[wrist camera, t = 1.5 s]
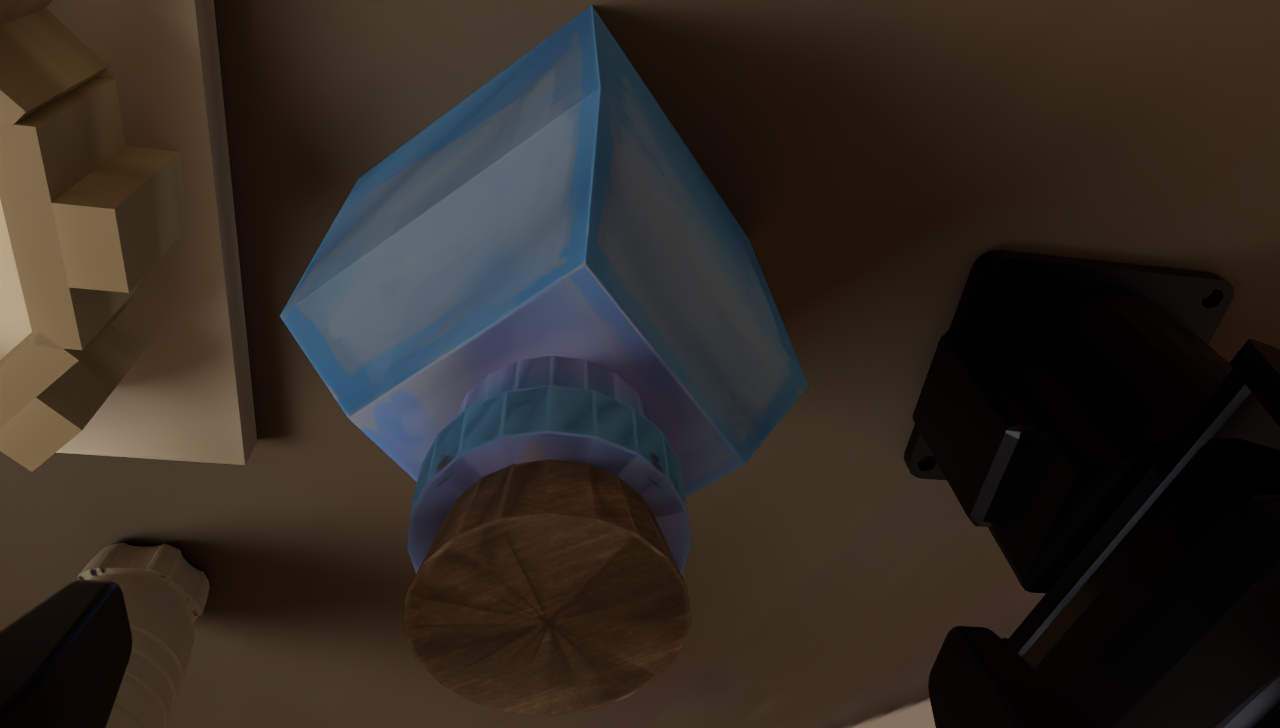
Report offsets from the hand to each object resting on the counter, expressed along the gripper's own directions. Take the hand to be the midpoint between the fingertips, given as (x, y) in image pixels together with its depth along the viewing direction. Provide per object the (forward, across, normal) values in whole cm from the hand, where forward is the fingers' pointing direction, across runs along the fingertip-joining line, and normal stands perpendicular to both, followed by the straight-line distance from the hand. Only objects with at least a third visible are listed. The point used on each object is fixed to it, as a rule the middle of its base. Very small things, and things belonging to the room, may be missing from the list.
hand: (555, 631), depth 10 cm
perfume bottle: (+12, 0, 0) cm, 12 cm away
